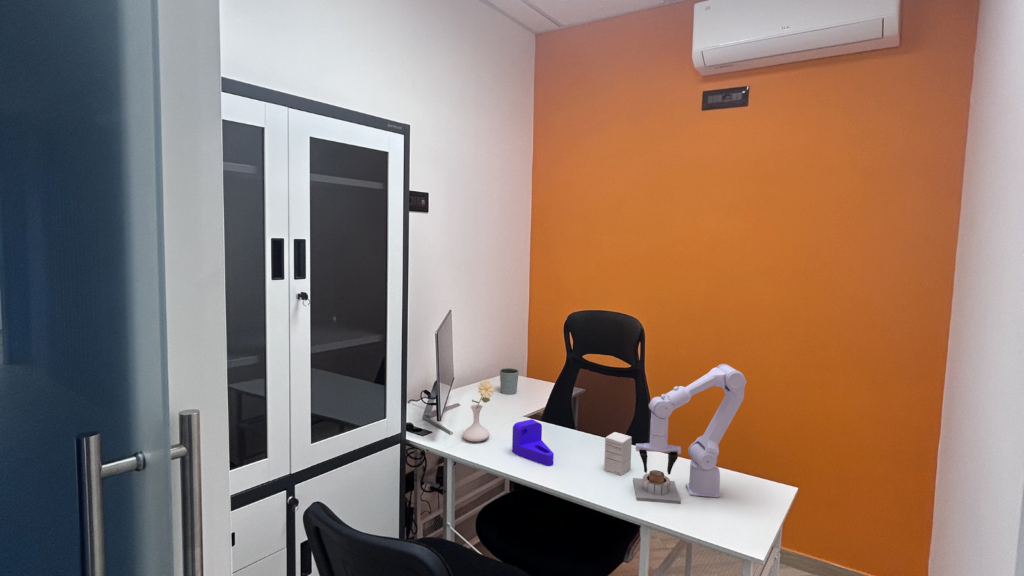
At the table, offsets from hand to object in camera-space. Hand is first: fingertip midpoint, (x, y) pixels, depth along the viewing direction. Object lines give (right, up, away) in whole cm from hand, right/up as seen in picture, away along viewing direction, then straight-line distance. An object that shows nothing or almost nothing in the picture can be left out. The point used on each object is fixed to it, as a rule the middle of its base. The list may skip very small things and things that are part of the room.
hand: (657, 472), depth 184 cm
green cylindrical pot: (-50, +6, +108) cm, 119 cm away
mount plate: (0, -7, +1) cm, 7 cm away
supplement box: (-10, -5, +17) cm, 21 cm away
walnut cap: (0, -6, +1) cm, 6 cm away
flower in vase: (-63, -1, +44) cm, 77 cm away
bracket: (-39, -4, +27) cm, 48 cm away
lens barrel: (0, -7, +1) cm, 7 cm away
